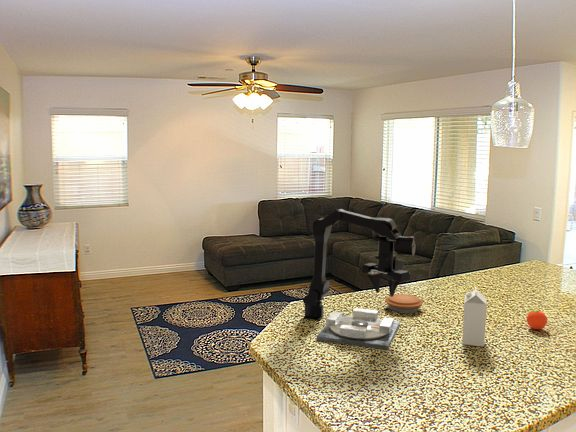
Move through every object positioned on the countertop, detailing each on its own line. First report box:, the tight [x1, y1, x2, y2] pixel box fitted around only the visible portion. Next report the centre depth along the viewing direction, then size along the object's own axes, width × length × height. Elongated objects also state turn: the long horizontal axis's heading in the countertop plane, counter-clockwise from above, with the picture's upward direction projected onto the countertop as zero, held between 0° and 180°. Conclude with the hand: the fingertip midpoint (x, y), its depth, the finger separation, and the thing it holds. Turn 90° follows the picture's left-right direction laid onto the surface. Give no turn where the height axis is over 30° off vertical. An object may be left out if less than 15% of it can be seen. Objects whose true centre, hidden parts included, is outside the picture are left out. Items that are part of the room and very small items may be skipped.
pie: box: [384, 293, 424, 314], centre depth 218 cm, size 15×16×5 cm
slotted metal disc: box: [325, 307, 395, 340], centre depth 191 cm, size 23×23×4 cm
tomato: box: [524, 309, 548, 330], centre depth 195 cm, size 8×7×7 cm
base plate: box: [316, 314, 401, 351], centre depth 191 cm, size 25×25×2 cm
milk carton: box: [461, 287, 488, 348], centre depth 181 cm, size 7×7×19 cm
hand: (384, 294), depth 194 cm, fingers open, 6 cm apart
